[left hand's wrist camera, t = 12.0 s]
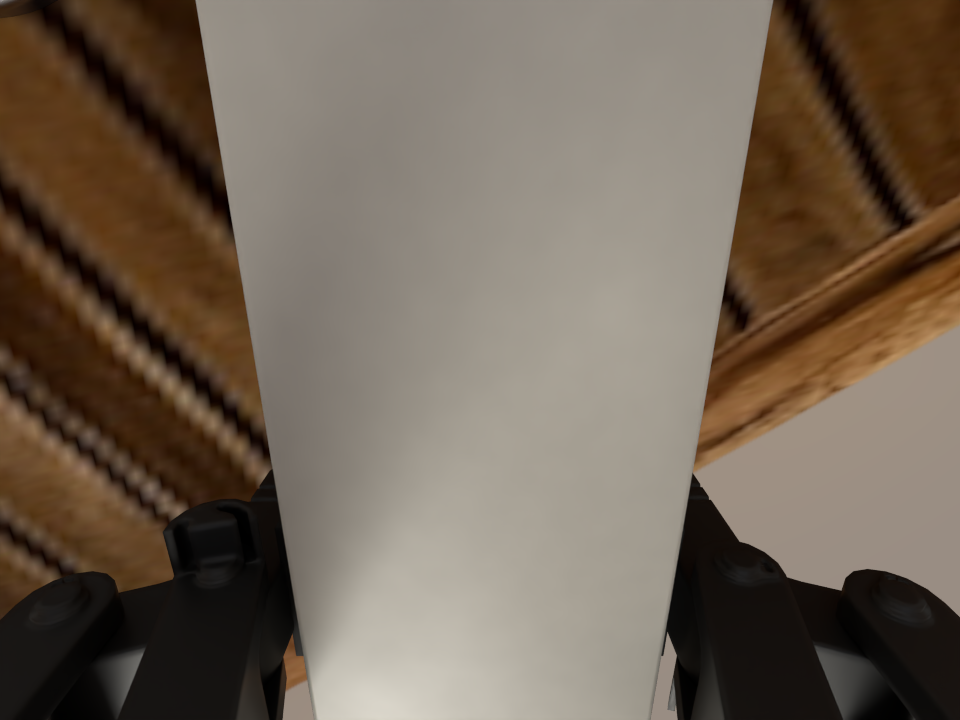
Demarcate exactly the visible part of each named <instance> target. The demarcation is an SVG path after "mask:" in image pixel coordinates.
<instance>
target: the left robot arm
mask: <svg viewBox="0 0 960 720" xmlns="http://www.w3.org/2000/svg"><path fill="white" fill-rule="evenodd" d="M55 1H57V0H0V18H3V17H13V16H17V15H22V14H26V13H30V12H33V11H36V10H38V9H41V8H44V7H46V6H48V5H49V4H51V3H53V2H55ZM163 535H164V539H165V542H166V546H167V550H168V554H169V557H170V561H171V565H172V569H173V572H174V577H173V580H170V581H166V582H163V583H160V584H156V585H151V586H147V587H142V588H138V589H134V590H129V591H125V592H121V593H119V592H118V589H117V586H116V583H115V580H114V579H112V578H111V577H110V576H109V575H108V574H106V573H100V572H94V571H92V572H84V573H77V574H72V575H69V576H66V577H63V578H60V579H57V580H54V581H52V582H50V583H48V584H47V585H45V586H43V587H41V588H39V589H37V590H35V591H33V592H32V593H31V594H29V595H28V596H27V597H26V598H24V599H23V600H22V601H20V602H19V603H18V604H17V605H15V606H14V607H13V608H12V609H11V610H10V611H9V612H8V613H7V614H6V615H5V616H4V617H3V618H2V619H1V620H0V720H282V719H283V709H284V699H285V689H286V679H287V677H286V670H285V664H284V658H283V656H284V653H285V651H286V648H287V646H288V643H289V641H290V638H291V636H292V633H293V639H294V644H295V650H296V656H304V655H303V649H302V643H301V637H300V631H299V625H298V619H297V613H296V607H295V601H294V595H293V589H292V583H291V576H290V570H289V564H288V558H287V552H286V546H285V540H284V534H283V528H282V522H281V516H280V510H279V504H278V497H277V491H276V485H275V479H274V473H273V469H272V470H270V471H269V473H268V474H267V476H266V477H265V479H264V480H263V482H262V483H261V485H260V488H259V489H257V491H256V492H255V494H254V495H253V496H252V498H251V502H246V501H242V500H238V499H220V500H215V501H211V502H207V503H203V504H200V505H198V506H196V507H193V508H191V509H189V510H186V511H185V512H183V513H182V514H180V515H179V516H178V517H176V518H175V519H173V520H172V521H171V522H170V523H169V525H168V526H167V527H166V528H165V530H164V531H163ZM667 632H668V634H669V636H670V639H671V642H672V644H673V647H674V649H675V652H676V654H677V658H676V664H675V669H674V675H673V680H672V686H671V691H670V696H669V703H668V710H671V711H675V706H676V708H677V717H678V720H960V617H959V616H958V615H957V614H956V613H955V612H954V611H953V610H952V609H951V608H950V607H949V606H948V605H947V604H946V603H944V602H943V601H942V600H941V599H939V598H938V597H937V596H935V595H934V594H933V593H931V592H930V591H929V590H928V589H926V588H924V587H922V586H920V585H918V584H916V583H914V582H913V581H911V580H909V579H907V578H904V577H901V576H898V575H895V574H892V573H889V572H886V571H878V570H871V569H865V570H859V571H853V572H852V573H851V574H850V575H849V576H847V577H846V579H845V581H844V585H843V588H842V591H840V590H836V589H831V588H827V587H823V586H818V585H814V584H809V583H805V582H801V581H798V580H794V579H791V578H787V577H786V574H785V573H784V571H783V570H782V568H781V567H780V565H779V564H778V563H777V562H776V561H775V560H774V559H772V558H771V557H770V556H769V555H767V554H766V553H765V552H763V551H761V550H759V549H757V548H755V547H753V546H751V545H749V544H746V543H742V542H739V540H738V539H737V537H736V536H735V535H734V533H733V532H732V530H731V529H730V527H729V526H728V524H727V523H726V521H725V520H724V518H723V517H722V515H721V514H720V513H719V511H718V510H717V508H716V507H715V505H714V504H713V502H712V501H711V500H709V497H708V495H707V493H706V492H705V490H704V489H703V488H702V487H700V483H699V482H698V480H697V479H696V477H695V476H694V474H693V473H692V478H691V484H690V490H689V496H688V502H687V508H686V514H685V519H684V525H683V531H682V537H681V543H680V549H679V555H678V561H677V566H676V572H675V578H674V584H673V590H672V596H671V602H670V607H669V613H668V619H667V625H666V631H665V637H664V643H663V648H662V654H661V656H663V654H664V648H665V642H666V636H667Z"/></svg>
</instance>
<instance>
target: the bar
mask: <svg viewBox="0 0 960 720" xmlns="http://www.w3.org/2000/svg"><path fill="white" fill-rule="evenodd" d="M772 4H773V0H196V5H197V11H198V17H199V23H200V30H201V36H202V42H203V48H204V54H205V60H206V66H207V72H208V78H209V84H210V90H211V96H212V102H213V109H214V115H215V121H216V127H217V133H218V139H219V145H220V151H221V157H222V163H223V169H224V175H225V181H226V188H227V194H228V200H229V206H230V212H231V218H232V224H233V230H234V236H235V242H236V248H237V254H238V260H239V267H240V273H241V279H242V285H243V291H244V297H245V303H246V309H247V315H248V321H249V327H250V333H251V339H252V346H253V352H254V358H255V364H256V370H257V376H258V382H259V388H260V394H261V400H262V406H263V412H264V418H265V425H266V431H267V437H268V443H269V449H270V455H271V461H272V467H273V473H274V479H275V485H276V491H277V497H278V504H279V510H280V516H281V522H282V528H283V534H284V540H285V546H286V552H287V558H288V564H289V570H290V576H291V583H292V589H293V595H294V601H295V607H296V613H297V619H298V625H299V631H300V637H301V643H302V649H303V655H304V662H305V668H306V674H307V680H308V685H309V692H310V698H311V704H312V710H313V716H314V720H650V719H651V713H652V707H653V701H654V695H655V689H656V684H657V678H658V672H659V666H660V660H661V654H662V648H663V643H664V637H665V631H666V625H667V619H668V613H669V607H670V602H671V596H672V590H673V584H674V578H675V572H676V566H677V561H678V555H679V549H680V543H681V537H682V531H683V525H684V519H685V514H686V508H687V502H688V496H689V490H690V484H691V478H692V473H693V467H694V461H695V455H696V449H697V443H698V437H699V432H700V426H701V420H702V414H703V408H704V402H705V396H706V390H707V385H708V379H709V373H710V367H711V361H712V355H713V349H714V344H715V338H716V332H717V326H718V320H719V314H720V308H721V303H722V297H723V291H724V285H725V279H726V273H727V267H728V262H729V256H730V250H731V244H732V238H733V232H734V226H735V220H736V215H737V209H738V203H739V197H740V191H741V185H742V179H743V174H744V168H745V162H746V156H747V150H748V144H749V138H750V133H751V127H752V121H753V115H754V109H755V103H756V97H757V91H758V86H759V80H760V74H761V68H762V62H763V56H764V50H765V45H766V39H767V33H768V27H769V21H770V15H771V9H772Z"/></svg>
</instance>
